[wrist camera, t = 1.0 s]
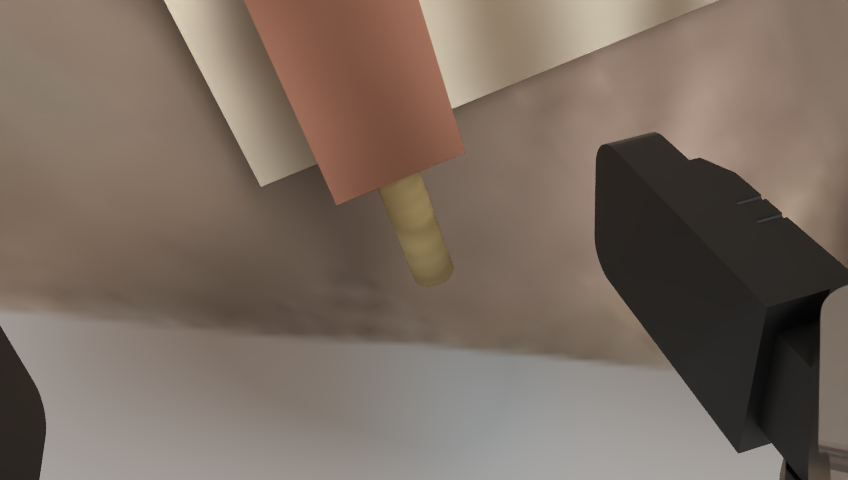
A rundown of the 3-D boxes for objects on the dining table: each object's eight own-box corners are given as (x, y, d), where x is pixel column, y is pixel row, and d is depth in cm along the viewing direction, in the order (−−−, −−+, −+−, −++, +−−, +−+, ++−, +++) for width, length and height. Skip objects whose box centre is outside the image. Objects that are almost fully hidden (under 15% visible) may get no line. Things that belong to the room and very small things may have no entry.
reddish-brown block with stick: (343, -136, 23) (391, -89, 19) (448, 183, 31) (502, 275, 26) (216, -87, 23) (232, -25, 18) (352, 222, 31) (389, 322, 26)
